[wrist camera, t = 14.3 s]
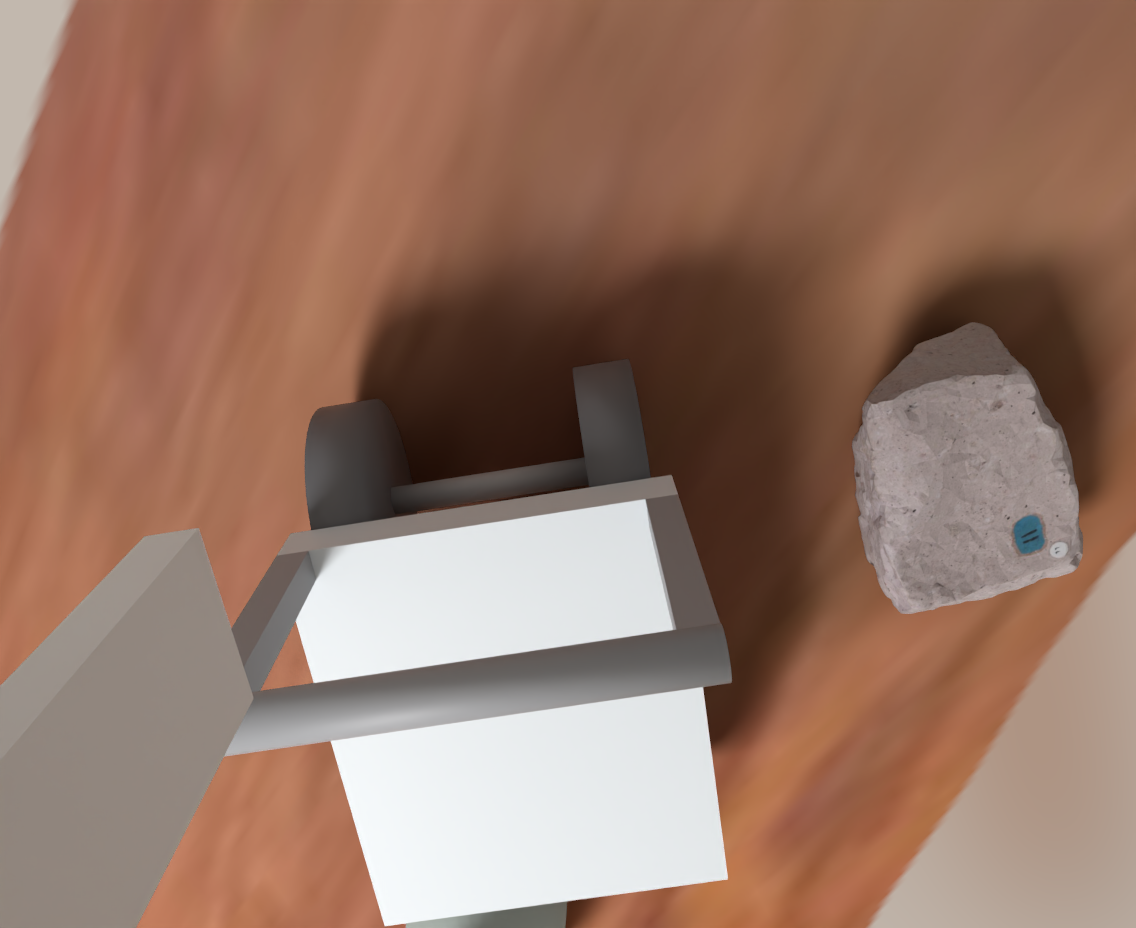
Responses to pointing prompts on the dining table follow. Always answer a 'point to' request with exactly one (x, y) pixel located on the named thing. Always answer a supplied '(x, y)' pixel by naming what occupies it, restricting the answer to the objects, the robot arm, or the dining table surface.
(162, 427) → the dining table surface
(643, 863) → the trolley
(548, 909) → the air freshener
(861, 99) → the dining table surface
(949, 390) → the decorative stone
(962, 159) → the dining table surface
